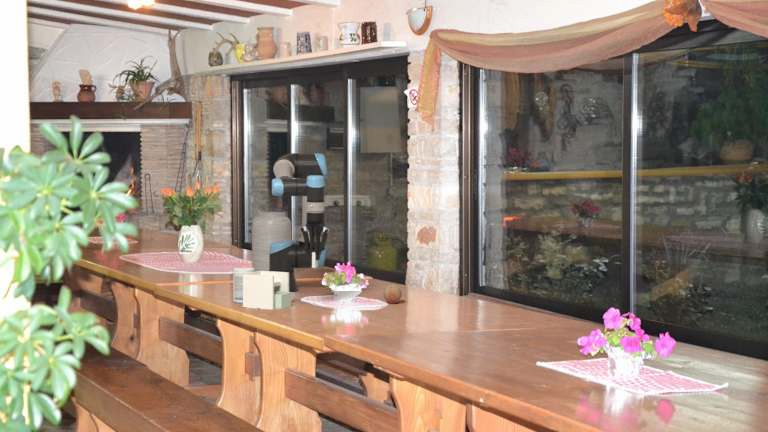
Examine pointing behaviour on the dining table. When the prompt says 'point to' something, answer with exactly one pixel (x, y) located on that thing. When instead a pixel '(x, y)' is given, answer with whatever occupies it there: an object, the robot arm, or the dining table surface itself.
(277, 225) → the vase
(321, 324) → the dining table surface
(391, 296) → the fruit
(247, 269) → the supplement tub
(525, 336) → the dining table surface
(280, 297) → the tray
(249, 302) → the box
